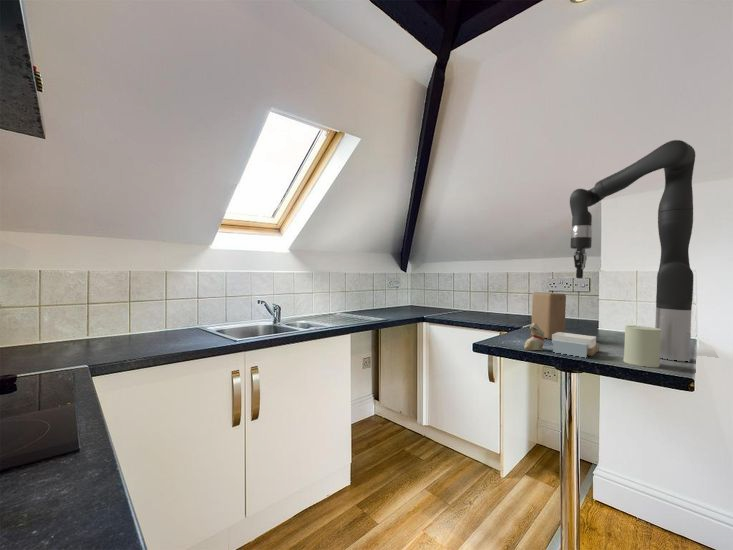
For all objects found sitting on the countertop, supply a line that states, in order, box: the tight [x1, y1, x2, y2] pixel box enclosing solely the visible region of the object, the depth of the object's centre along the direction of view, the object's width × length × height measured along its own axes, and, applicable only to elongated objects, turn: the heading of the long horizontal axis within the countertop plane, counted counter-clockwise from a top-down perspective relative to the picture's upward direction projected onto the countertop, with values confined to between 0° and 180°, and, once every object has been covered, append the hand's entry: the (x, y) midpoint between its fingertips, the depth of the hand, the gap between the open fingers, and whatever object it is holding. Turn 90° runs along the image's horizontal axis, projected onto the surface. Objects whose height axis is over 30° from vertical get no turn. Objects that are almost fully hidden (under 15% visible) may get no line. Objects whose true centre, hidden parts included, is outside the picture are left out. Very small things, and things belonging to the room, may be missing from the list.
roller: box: [587, 348, 594, 357], centre depth 123 cm, size 12×3×3 cm
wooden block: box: [530, 291, 567, 340], centre depth 156 cm, size 10×10×20 cm
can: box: [622, 325, 661, 368], centre depth 111 cm, size 9×9×12 cm
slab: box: [551, 332, 597, 349], centre depth 123 cm, size 12×9×3 cm
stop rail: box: [552, 340, 588, 359], centre depth 119 cm, size 10×2×4 cm, turn 48°
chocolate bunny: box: [523, 323, 545, 351], centre depth 127 cm, size 6×8×10 cm
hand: (579, 278), depth 146 cm, fingers closed
